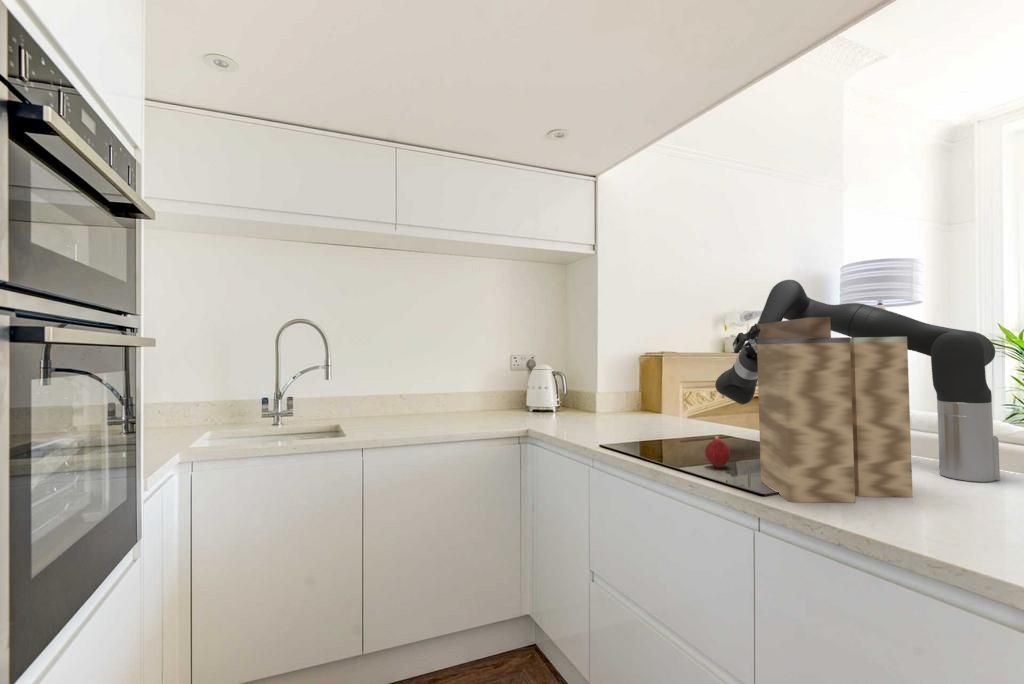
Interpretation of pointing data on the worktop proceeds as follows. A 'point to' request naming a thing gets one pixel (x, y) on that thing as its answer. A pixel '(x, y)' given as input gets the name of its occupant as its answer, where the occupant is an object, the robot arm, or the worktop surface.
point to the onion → (717, 452)
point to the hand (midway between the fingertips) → (776, 326)
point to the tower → (881, 417)
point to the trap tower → (806, 418)
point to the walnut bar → (796, 329)
